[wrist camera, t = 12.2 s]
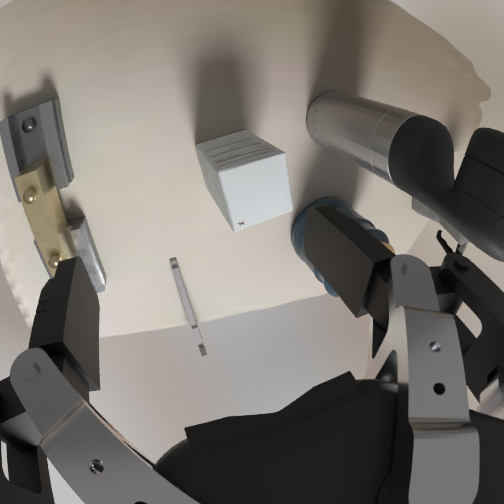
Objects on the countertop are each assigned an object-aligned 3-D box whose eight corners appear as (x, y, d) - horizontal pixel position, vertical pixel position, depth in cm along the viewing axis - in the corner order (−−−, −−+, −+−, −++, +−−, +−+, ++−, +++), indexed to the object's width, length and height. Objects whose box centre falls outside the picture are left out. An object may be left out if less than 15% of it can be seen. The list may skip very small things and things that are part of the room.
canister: (287, 205, 47) (351, 269, 34) (351, 188, 50) (421, 239, 37) (290, 266, 55) (340, 333, 42) (346, 245, 58) (402, 301, 45)
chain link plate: (48, 157, 28) (33, 173, 23) (77, 250, 36) (71, 276, 31) (27, 164, 27) (11, 181, 22) (58, 255, 35) (51, 281, 31)
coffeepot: (420, 167, 53) (485, 206, 40) (441, 171, 57) (499, 207, 43) (400, 229, 62) (454, 274, 48) (422, 226, 65) (473, 267, 51)
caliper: (201, 334, 58) (209, 358, 53) (196, 336, 58) (203, 360, 53) (175, 256, 46) (181, 281, 41) (168, 258, 45) (174, 283, 40)
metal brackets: (59, 98, 26) (51, 100, 23) (106, 276, 42) (105, 290, 40) (7, 118, 24) (-4, 122, 21) (63, 286, 40) (61, 300, 38)
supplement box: (254, 175, 42) (294, 213, 33) (206, 190, 41) (232, 235, 31) (246, 127, 38) (287, 151, 28) (193, 142, 36) (216, 172, 27)
